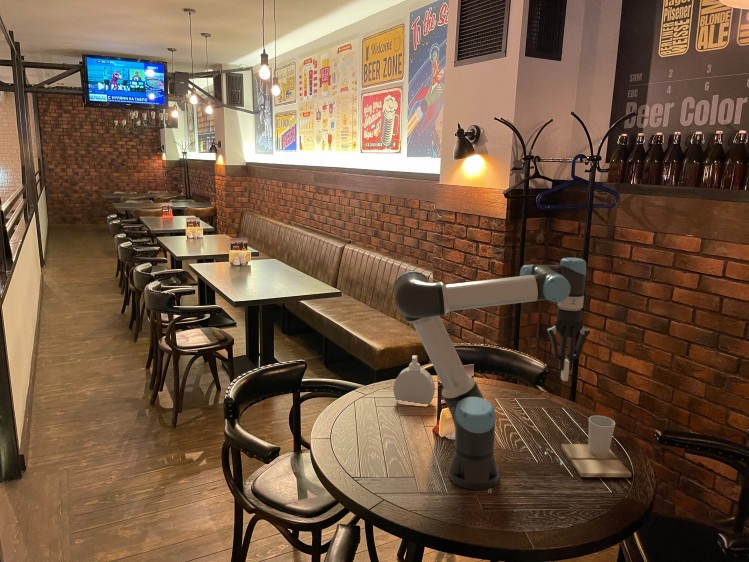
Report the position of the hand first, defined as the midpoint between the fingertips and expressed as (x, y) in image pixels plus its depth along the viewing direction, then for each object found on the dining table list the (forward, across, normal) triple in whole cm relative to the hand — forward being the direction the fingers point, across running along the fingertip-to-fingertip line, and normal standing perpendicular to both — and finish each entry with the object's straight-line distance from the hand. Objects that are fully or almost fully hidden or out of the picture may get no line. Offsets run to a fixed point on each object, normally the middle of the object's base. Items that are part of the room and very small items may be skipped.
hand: (564, 379), depth 178 cm
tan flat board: (+26, +10, 0) cm, 28 cm away
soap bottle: (+27, -46, +38) cm, 65 cm away
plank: (+26, +10, -10) cm, 29 cm away
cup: (+26, +13, 0) cm, 29 cm away
